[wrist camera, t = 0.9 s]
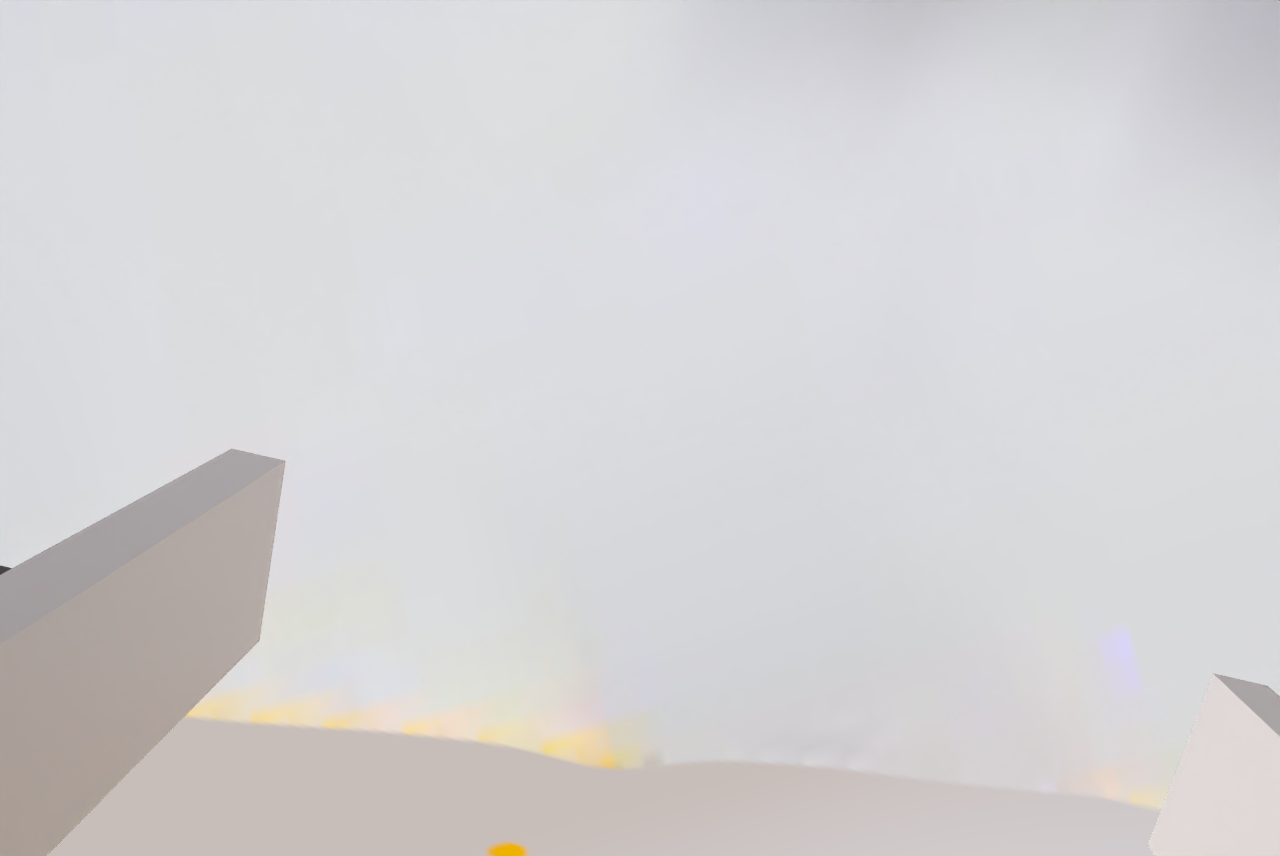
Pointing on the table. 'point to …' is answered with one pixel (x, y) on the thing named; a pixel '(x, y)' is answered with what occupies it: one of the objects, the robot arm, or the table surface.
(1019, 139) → the table surface
